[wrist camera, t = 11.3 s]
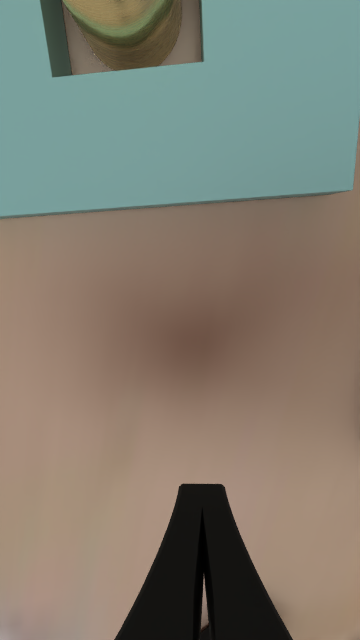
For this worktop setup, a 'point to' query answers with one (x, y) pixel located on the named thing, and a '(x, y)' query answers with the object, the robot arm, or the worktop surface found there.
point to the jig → (181, 112)
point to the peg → (128, 30)
